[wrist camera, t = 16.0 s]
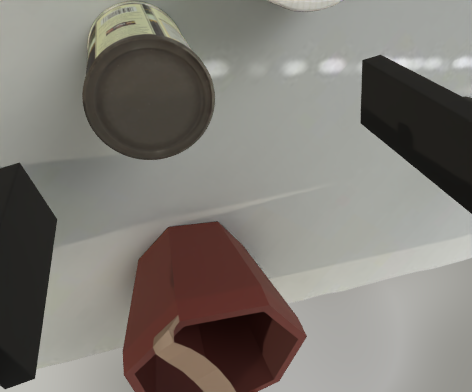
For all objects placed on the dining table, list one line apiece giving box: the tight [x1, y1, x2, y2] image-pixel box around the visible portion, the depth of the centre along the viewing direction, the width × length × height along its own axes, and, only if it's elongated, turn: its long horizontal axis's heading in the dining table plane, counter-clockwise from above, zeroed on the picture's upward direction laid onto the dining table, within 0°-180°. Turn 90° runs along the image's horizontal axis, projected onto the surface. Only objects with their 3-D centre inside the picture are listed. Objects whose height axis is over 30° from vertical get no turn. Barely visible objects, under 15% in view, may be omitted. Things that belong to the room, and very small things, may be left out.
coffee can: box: [83, 1, 215, 160], centre depth 36 cm, size 10×10×14 cm
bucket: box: [123, 221, 307, 392], centre depth 52 cm, size 24×22×25 cm
